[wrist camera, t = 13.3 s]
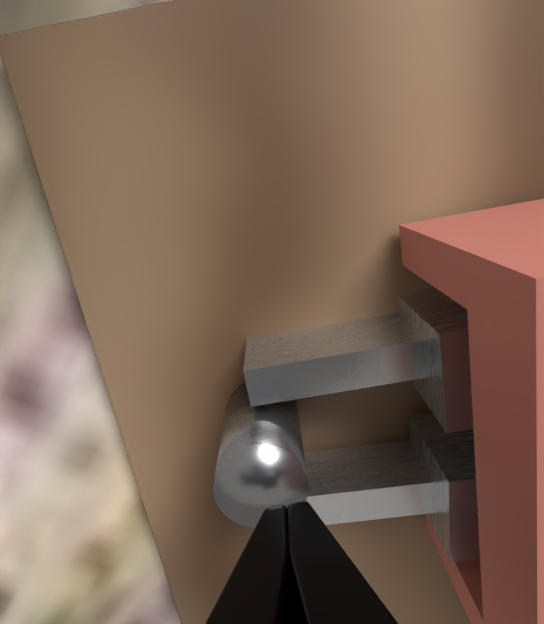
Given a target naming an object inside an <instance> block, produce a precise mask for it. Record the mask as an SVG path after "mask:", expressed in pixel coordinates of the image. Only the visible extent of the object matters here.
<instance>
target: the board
mask: <svg viewBox="0 0 544 624" xmlns="http://www.w3.org/2000/svg"><path fill="white" fill-rule="evenodd" d="M0 54H1V57H2V60H3V63H4V67H5V70H6V73H7V76H8V79H9V82H10V85H11V89H12V92H13V95H14V98H15V101H16V104H17V107H18V111H19V114H20V117H21V120H22V123H23V126H24V130H25V133H26V136H27V139H28V142H29V145H30V148H31V152H32V155H33V158H34V161H35V164H36V167H37V170H38V174H39V177H40V180H41V183H42V186H43V189H44V192H45V196H46V199H47V202H48V205H49V208H50V211H51V215H52V218H53V221H54V224H55V227H56V230H57V233H58V237H59V240H60V243H61V246H62V249H63V252H64V255H65V259H66V262H67V265H68V268H69V271H70V274H71V277H72V281H73V284H74V287H75V290H76V293H77V296H78V300H79V303H80V306H81V309H82V312H83V315H84V318H85V322H86V325H87V328H88V331H89V334H90V337H91V340H92V344H93V347H94V350H95V353H96V356H97V359H98V362H99V366H100V369H101V372H102V375H103V378H104V381H105V385H106V388H107V391H108V394H109V397H110V400H111V403H112V407H113V410H114V413H115V416H116V419H117V422H118V425H119V429H120V432H121V435H122V438H123V441H124V444H125V447H126V451H127V454H128V457H129V460H130V463H131V466H132V470H133V473H134V476H135V479H136V482H137V485H138V488H139V492H140V495H141V498H142V501H143V504H144V507H145V510H146V514H147V517H148V520H149V523H150V526H151V529H152V532H153V536H154V539H155V542H156V545H157V548H158V551H159V555H160V558H161V561H162V564H163V567H164V570H165V573H166V577H167V580H168V583H169V586H170V589H171V592H172V595H173V599H174V602H175V605H176V608H177V611H178V614H179V617H180V621H181V624H205V622H206V620H207V618H208V616H209V614H210V612H211V610H212V608H213V607H214V605H215V603H216V601H217V599H218V597H219V595H220V593H221V591H222V589H223V588H224V586H225V584H226V582H227V580H228V578H229V576H230V574H231V572H232V570H233V569H234V567H235V565H236V563H237V561H238V559H239V557H240V555H241V553H242V551H243V550H244V548H245V546H246V544H247V542H248V540H249V538H250V536H251V534H252V532H253V531H254V529H255V528H249V527H245V526H242V525H239V524H237V523H235V522H233V521H232V520H230V519H229V518H228V517H227V516H225V515H224V514H223V513H222V511H221V510H220V509H219V507H218V505H217V504H216V501H215V498H214V494H213V484H214V477H215V471H216V465H217V459H218V453H219V447H220V441H221V435H222V429H223V423H224V417H225V411H226V405H227V402H228V400H229V397H230V396H231V394H232V393H233V392H234V391H235V390H236V389H237V388H238V387H239V386H241V385H242V384H244V383H246V382H245V377H244V372H243V368H244V359H245V350H246V341H247V339H250V338H255V337H261V336H267V335H273V334H279V333H284V332H290V331H296V330H302V329H308V328H313V327H319V326H325V325H331V324H337V323H342V322H348V321H354V320H360V319H366V318H371V317H377V316H383V315H389V314H395V313H398V305H397V294H402V293H408V292H414V291H420V290H425V289H431V288H435V287H433V286H432V285H430V284H429V283H428V282H426V281H425V280H423V279H422V278H420V277H419V276H417V275H416V274H414V273H413V272H411V271H410V270H408V269H407V268H405V267H404V266H403V264H402V254H401V243H400V232H399V225H400V224H406V223H412V222H417V221H423V220H428V219H434V218H439V217H445V216H450V215H456V214H462V213H467V212H473V211H478V210H484V209H489V208H495V207H500V206H506V205H512V204H517V203H523V202H528V201H534V200H539V199H544V0H173V1H168V2H163V3H158V4H153V5H148V6H143V7H138V8H133V9H128V10H123V11H118V12H113V13H109V14H104V15H99V16H94V17H89V18H84V19H79V20H74V21H69V22H64V23H59V24H54V25H49V26H45V27H40V28H35V29H30V30H25V31H20V32H15V33H10V34H5V35H0ZM295 400H296V402H297V406H298V413H299V420H300V427H301V435H302V442H303V449H304V452H312V451H321V450H329V449H338V448H347V447H355V446H364V445H373V444H381V443H390V442H399V441H407V440H410V427H409V415H413V414H422V413H430V412H432V411H431V410H430V408H429V407H428V406H427V404H426V403H425V401H424V400H423V398H422V397H421V395H420V394H419V393H418V391H417V390H416V388H415V387H414V385H413V384H412V383H411V381H410V380H409V381H403V382H397V383H391V384H385V385H379V386H373V387H367V388H361V389H355V390H349V391H343V392H337V393H331V394H325V395H319V396H313V397H307V398H301V399H295ZM326 526H327V528H328V529H329V530H330V532H331V533H332V535H333V536H334V537H335V539H336V540H337V541H338V543H339V544H340V545H341V547H342V548H343V549H344V551H345V552H346V553H347V555H348V556H349V558H350V559H351V560H352V562H353V563H354V564H355V566H356V567H357V568H358V570H359V571H360V572H361V574H362V575H363V576H364V578H365V579H366V580H367V582H368V583H369V585H370V586H371V587H372V589H373V590H374V591H375V593H376V594H377V595H378V597H379V598H380V599H381V601H382V602H383V603H384V605H385V606H386V607H387V609H388V610H389V612H390V613H391V614H392V616H393V617H394V618H395V620H396V621H397V622H398V624H471V623H470V621H469V618H468V616H467V614H466V612H465V610H464V607H463V605H462V603H461V601H460V599H459V596H458V594H457V592H456V590H455V588H454V585H453V583H452V581H451V579H450V577H449V574H448V572H447V570H446V568H445V566H444V564H443V561H442V559H441V557H440V555H439V553H438V550H437V548H436V546H435V544H434V542H433V539H432V537H431V535H430V533H429V531H428V528H427V522H426V514H420V515H411V516H402V517H393V518H384V519H375V520H366V521H357V522H348V523H339V524H330V525H326Z"/></svg>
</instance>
